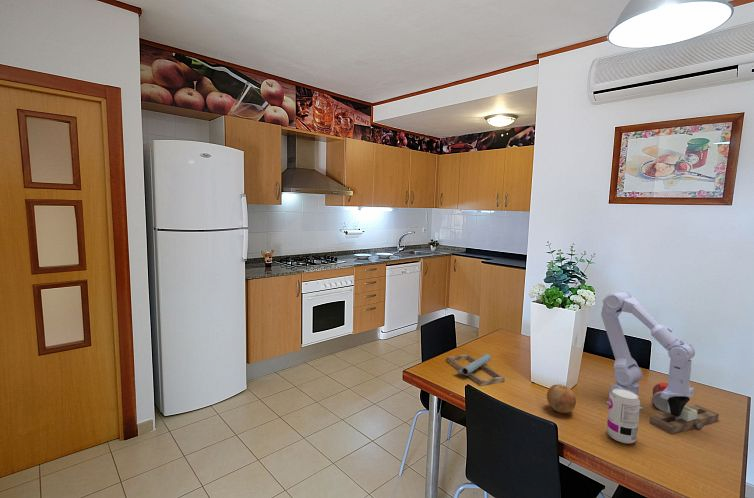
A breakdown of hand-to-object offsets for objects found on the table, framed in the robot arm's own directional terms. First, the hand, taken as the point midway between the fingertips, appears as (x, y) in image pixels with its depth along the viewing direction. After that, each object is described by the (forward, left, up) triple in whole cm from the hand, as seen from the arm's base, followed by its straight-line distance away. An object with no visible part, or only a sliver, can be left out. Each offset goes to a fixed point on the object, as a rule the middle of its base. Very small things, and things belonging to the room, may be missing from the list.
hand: (675, 415), depth 129 cm
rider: (+4, 0, -4) cm, 5 cm away
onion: (-31, +20, -4) cm, 37 cm away
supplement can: (-25, +1, -4) cm, 26 cm away
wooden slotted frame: (+6, 0, -4) cm, 7 cm away
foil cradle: (-41, +60, -4) cm, 73 cm away
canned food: (+16, +13, 0) cm, 20 cm away
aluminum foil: (-41, +60, -2) cm, 73 cm away
